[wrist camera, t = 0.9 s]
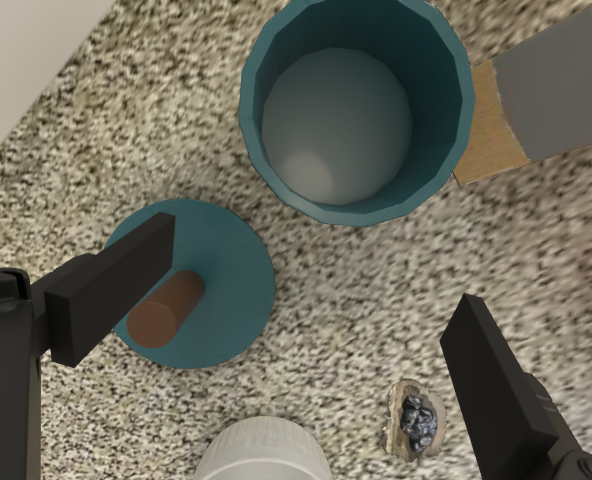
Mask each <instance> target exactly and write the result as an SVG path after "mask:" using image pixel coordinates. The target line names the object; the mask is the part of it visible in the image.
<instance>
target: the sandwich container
mask: <svg viewBox="0 0 592 480" xmlns="http://www.w3.org/2000/svg"><path fill="white" fill-rule="evenodd" d="M471 75H472V80H473V85H474V90H475V95H476V98H475V99H476V102H475V107H474V113H473V119H472V124H471V130H470V136H469V142H468V146H467V148H466V150H465V151H464V153H463V155H462V156H461V158H460V160H459V161H458V163H457V165H456V166H455V168H454V170H453V172H454V174H455V176H456V178H457V180H458V182H459V185H460V186H464V185H467V184H470V183H473V182H476V181H479V180H482V179H485V178H489V177H492V176H495V175H498V174H501V173H504V172H507V171H510V170H513V169H516V168H519V167H522V166H526V165H529V164H532V163H535V162H538V161H541V160H544V159H547V158H550V157H554V156H557V155H560V154H563V153H566V152H569V151H572V150H575V149H578V148H582V147H585V146H588V145H591V144H592V4H590V5H588V6H586V7H585V8H583V9H581V10H579V11H577V12H576V13H574V14H572V15H570V16H569V17H567V18H565V19H563V20H561V21H559V22H558V23H556V24H554V25H552V26H550V27H548V28H547V29H545V30H543V31H541V32H539V33H537V34H535V35H534V36H532V37H530V38H528V39H526V40H524V41H523V42H521V43H519V44H517V45H515V46H513V47H511V48H510V49H508V50H506V51H504V52H502V53H500V54H499V55H497V56H495V57H493V58H491V59H489V60H487V61H486V62H484V63H482V64H480V65H478V66H476V67H474V68H473V69H471Z"/></svg>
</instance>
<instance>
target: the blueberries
mask: <svg viewBox="0 0 592 480" xmlns="http://www.w3.org/2000/svg"><path fill="white" fill-rule="evenodd" d="M389 394H390V395H391V397H392V398H389V399H391V400H390V401H389V405H388V407H389V409H390V411H391V414H390V415H391V417H387V416H386V415H385V417H387V419H389V420H388V424H387V427H384V428H383V429H382V430H385V434H384V436H383V439H381V442H382V444H381V446H383V449H384V450H385V451H386V452H388V453H389V454H392V455H396V456H397V457H398V458H401V457H403V460H404V461H405V462H406V463H408V462H413V461H414V459H416V458H417V459H418V461H420V459H423V458H424V456H425V454H427V453H429V454H430V455H433V456H434V454H435V455H437V456H438V454H439V453H438V452H441V449H440V446H441V445H443V442H444V439H445V434H446V431H445V425H447V423H446V421H445V419H447V417H446V416H447V413H446V408H445V406H444V404H443V401H444V400H443V398H440V397H439V396H437V394H436V392H430V393H429V391H428V388H424V386H422V385H421V384H419V382H417V381H415V380H414V381H413V380H410V379H409V380H408V379H406V380H402V381H401V382H400V383H396V384H395V385H394V387H393V389H391V390H390V393H389ZM439 423H440V424H439Z"/></svg>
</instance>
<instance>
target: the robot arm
mask: <svg viewBox="0 0 592 480" xmlns="http://www.w3.org/2000/svg"><path fill="white" fill-rule="evenodd" d="M175 219H176V216H175V215H171V214H167V213H164V212H160V211H159V212H158V213H157V214H155V215H154V216H152V217H151V218H149V219H148V220H146V221H145V222H143V223H142V224H140V225H139V226H138V227H136V228H135V229H133V230H132V231H130V232H129V233H127V234H126V235H124V236H123V237H121V238H120V239H119V240H117V241H116V242H114V243H113V244H111V245H110V246H108V247H107V248H105V249H104V250H102V251H101V252H100V253H98V254H97V255H95V254H91V253H86V254H83V255H80V256H77V257H73V258H72V259H70V260H69V261H67V262H66V263H64V264H62V266H59V267H58V268H56V269H55V270H53V272H50V273H48V274H47V275H45V276H44V277H42V278H40V279H39V280H37V281H36V282H34V283H33V284H31V285H30V279H29V276H28V273H27V272H25V271H23V270H22V269H17V268H0V480H40V473H41V360H40V356H41V355H43V354H44V353H45V352H46V351H47V350H48V349H49V348H50V351H51V359H52V362H55V363H59V364H62V365H66V366H69V367H72V368H75V367H76V366H77V365H78V364H79V363H80V362H81V361H82V360H83V359H84V358H85V357H86V356H87V355H88V354H89V353H90V351H91V350H92V349H93V348H94V347H95V346H96V345H97V344H98V343H99V342H100V341H101V340H102V339H103V338H104V337H105V336H106V335H107V334H108V333H109V332H110V331H111V330H112V329H113V328H114V327H115V326H116V325H117V324H118V323H119V322H120V321H121V319H122V318H123V317H124V316H125V315H126V314H127V313H128V312H129V311H130V310H131V309H132V308H133V307H134V306H135V305H136V304H137V303H138V302H139V301H140V300H141V299H142V298H143V297H144V296H145V295H146V294H147V293H148V292H149V291H150V290H151V289H152V287H153V286H154V285H155V284H156V283H157V282H158V281H159V280H160V279H161V278H162V277H163V276H164V275H165V274H166V273H167V272H168V271H169V270H170V269H171V268H172V260H173V247H174V233H175ZM440 344H441V348H442V351H443V354H444V357H445V360H446V364H447V367H448V370H449V373H450V376H451V380H452V383H453V386H454V389H455V393H456V396H457V399H458V402H459V405H460V409H461V412H462V415H463V418H464V421H465V425H466V428H467V431H468V434H469V437H470V441H471V444H472V447H473V450H474V453H475V457H476V460H477V463H478V466H479V469H480V473H481V476H482V479H483V480H592V455H591V454H590V453H588V452H585V451H583V450H582V449H581V447H580V445H579V444H578V442H577V440H576V439H575V437H574V435H573V434H572V432H571V430H570V429H569V427H568V425H567V424H566V422H565V420H564V419H563V417H562V415H561V414H559V410H558V409H557V407H556V405H555V404H554V403H552V399H551V397H550V396H549V394H548V392H547V391H546V389H545V387H544V386H543V385H542V384H541V383H540V382H539V381H538V380H537V379H536V378H535V377H534V376H533V375H532V374H529V373H525V372H523V370H522V368H521V367H520V365H519V363H518V361H517V360H516V358H515V356H514V354H513V352H512V351H511V349H510V347H509V345H508V344H507V342H506V340H505V338H504V336H503V335H502V333H501V331H500V329H499V328H498V326H497V324H496V322H495V320H494V319H493V317H492V315H491V313H490V312H489V310H488V308H487V306H486V305H485V303H484V301H483V299H482V298H481V297H477V296H473V295H470V294H466V293H464V294H463V296H462V298H461V300H460V302H459V304H458V306H457V308H456V310H455V312H454V314H453V316H452V317H451V319H450V321H449V323H448V325H447V327H446V329H445V331H444V333H443V335H442V337H441V339H440Z"/></svg>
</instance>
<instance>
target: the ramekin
mask: <svg viewBox="0 0 592 480" xmlns="http://www.w3.org/2000/svg"><path fill="white" fill-rule="evenodd" d="M191 480H333V478H332V474H331V471H330V467H329V464H328V461H327V459H326V457H325V454H324V452H323V450H322V448H321V447H320V445H319V443H318V442H317V441H316V440H315V438H314V437H313V436H312V435H311V434H309V432H308V431H307V430H305V429H303V428H302V427H301V426H300V425H298V424H295V423H294V422H292V421H289V420H286V419H283V418H278V417H271V416H258V417H251V418H248V419H243V420H241V421H239V422H236V423H234V424H233V425H231V426H229V427H227V428H226V429H225V430H223V431H222V432H220V434H219V435H218V436H216V437H215V438H214V440H213V441H212V443H211V444H210V445H209V447H208V449H207V450H206V451H205V453H204V455H203V457H202V459H201V461H200V463H199V465H198V467H197V469H196V471H195V474H194V476H193V478H192V479H191Z"/></svg>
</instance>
